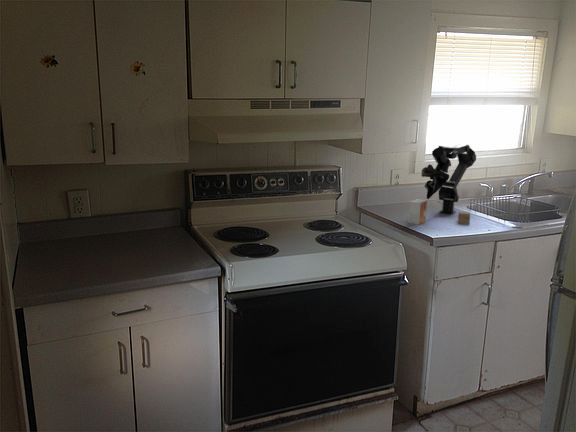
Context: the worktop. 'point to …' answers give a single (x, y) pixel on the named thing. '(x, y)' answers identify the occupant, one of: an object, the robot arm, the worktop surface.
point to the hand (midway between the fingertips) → (430, 195)
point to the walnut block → (463, 217)
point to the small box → (417, 211)
